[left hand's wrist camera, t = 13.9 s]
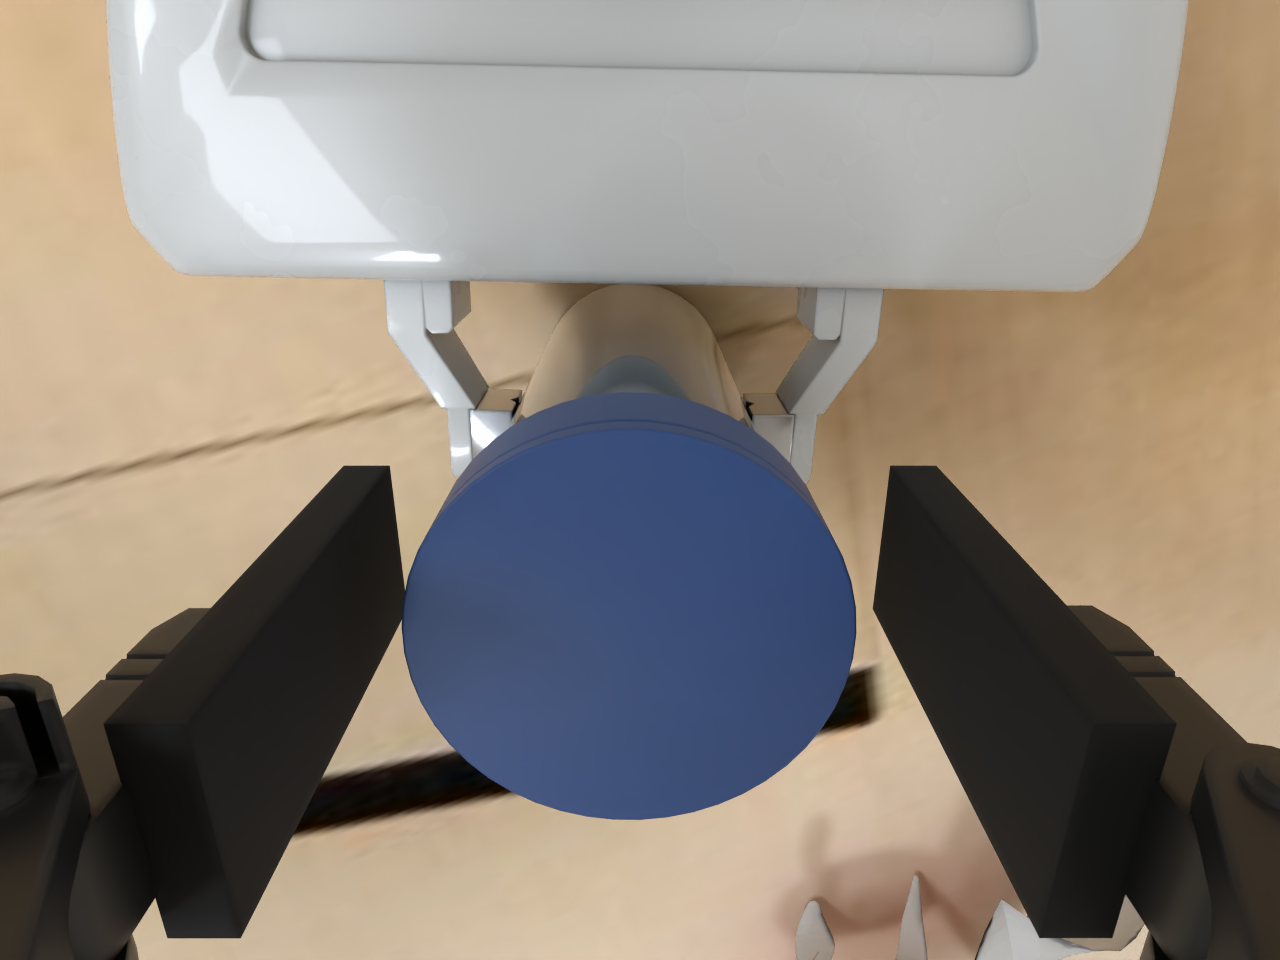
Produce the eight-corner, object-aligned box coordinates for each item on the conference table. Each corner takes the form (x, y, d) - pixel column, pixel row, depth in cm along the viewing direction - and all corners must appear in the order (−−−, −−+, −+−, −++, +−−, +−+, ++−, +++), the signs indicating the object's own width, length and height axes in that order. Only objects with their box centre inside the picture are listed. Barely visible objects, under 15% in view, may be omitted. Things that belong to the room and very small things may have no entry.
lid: (906, 602, 13) (944, 665, 11) (610, 802, 14) (607, 884, 13) (655, 300, 11) (658, 325, 10) (347, 562, 13) (305, 623, 11)
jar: (756, 381, 25) (897, 645, 12) (623, 487, 27) (610, 836, 13) (643, 243, 24) (653, 362, 10) (507, 361, 25) (356, 609, 12)
